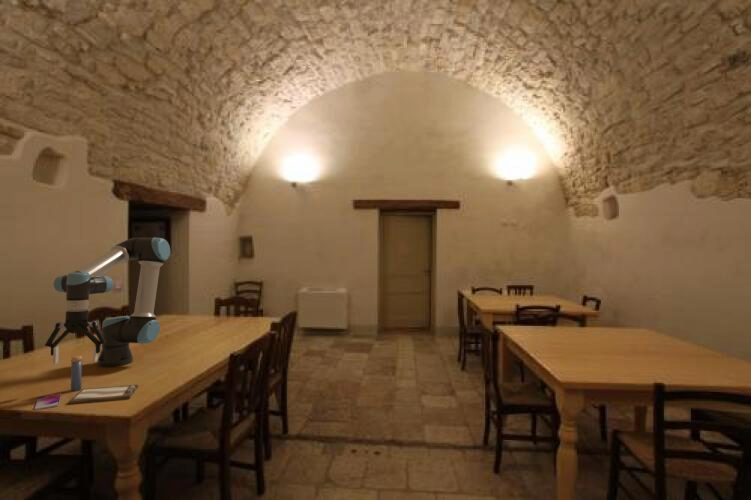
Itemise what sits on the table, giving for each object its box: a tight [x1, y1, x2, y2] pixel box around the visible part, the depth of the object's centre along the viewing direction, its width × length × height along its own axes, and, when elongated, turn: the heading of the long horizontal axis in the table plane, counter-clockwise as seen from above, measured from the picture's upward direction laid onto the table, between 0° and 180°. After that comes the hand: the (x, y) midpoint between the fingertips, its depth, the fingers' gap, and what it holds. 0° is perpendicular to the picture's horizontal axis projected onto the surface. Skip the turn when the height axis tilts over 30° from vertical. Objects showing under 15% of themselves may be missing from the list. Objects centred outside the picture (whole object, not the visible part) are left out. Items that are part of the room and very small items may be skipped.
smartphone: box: [33, 392, 62, 411], centre depth 152 cm, size 7×1×15 cm
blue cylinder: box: [70, 355, 83, 392], centre depth 165 cm, size 4×4×14 cm
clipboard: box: [67, 384, 139, 405], centre depth 160 cm, size 14×20×2 cm
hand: (75, 362), depth 165 cm, fingers open, 13 cm apart
